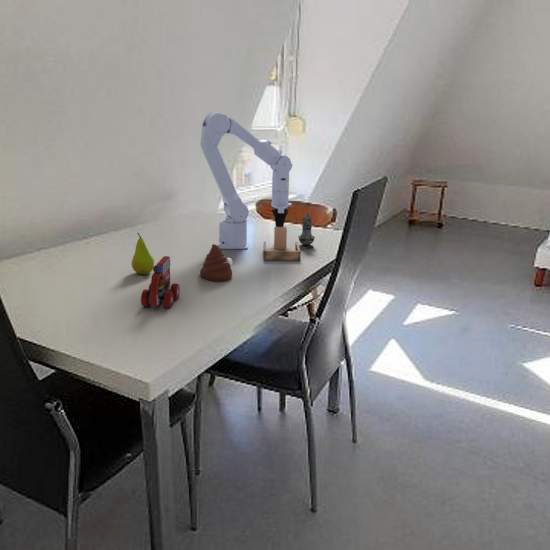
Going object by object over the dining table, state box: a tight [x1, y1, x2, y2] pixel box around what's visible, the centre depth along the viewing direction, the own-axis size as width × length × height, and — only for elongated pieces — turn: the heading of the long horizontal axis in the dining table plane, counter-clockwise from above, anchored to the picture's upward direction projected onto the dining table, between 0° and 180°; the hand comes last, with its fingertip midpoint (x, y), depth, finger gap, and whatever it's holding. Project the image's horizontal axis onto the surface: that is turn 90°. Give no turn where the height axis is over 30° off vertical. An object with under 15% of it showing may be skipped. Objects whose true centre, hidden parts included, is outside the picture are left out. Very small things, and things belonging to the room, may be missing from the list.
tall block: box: [273, 226, 288, 249], centre depth 165 cm, size 4×4×7 cm
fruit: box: [131, 232, 155, 275], centre depth 136 cm, size 6×6×12 cm
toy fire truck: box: [140, 255, 181, 309], centre depth 116 cm, size 7×12×10 cm, turn 175°
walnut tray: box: [263, 240, 302, 262], centre depth 158 cm, size 11×12×3 cm
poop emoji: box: [199, 243, 234, 283], centre depth 136 cm, size 10×8×9 cm
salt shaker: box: [297, 212, 316, 250], centre depth 167 cm, size 6×6×12 cm
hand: (279, 229), depth 171 cm, fingers closed
